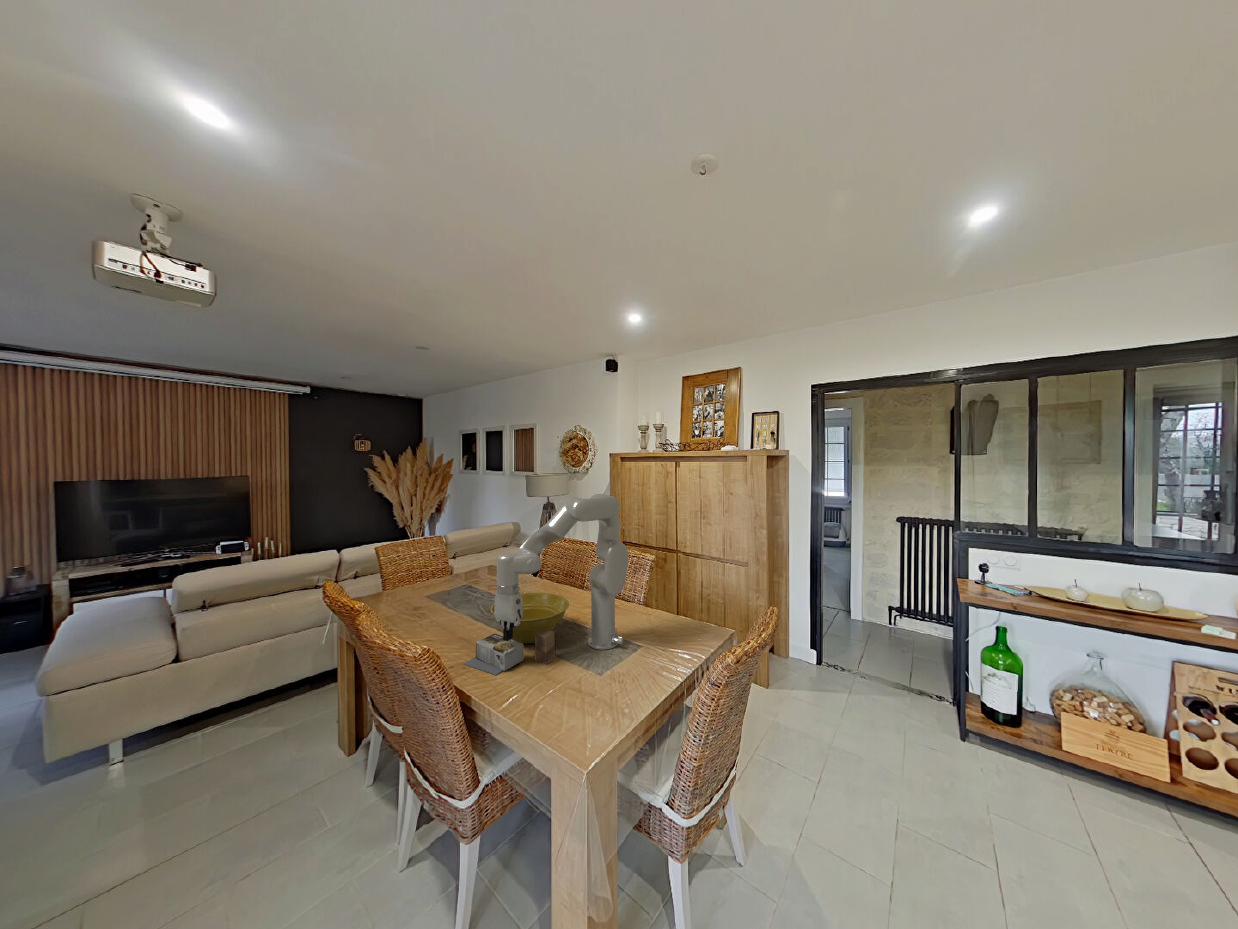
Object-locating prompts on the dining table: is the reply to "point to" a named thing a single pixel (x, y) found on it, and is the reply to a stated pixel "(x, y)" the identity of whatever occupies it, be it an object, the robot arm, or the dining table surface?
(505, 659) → the coffee box
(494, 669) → the mat
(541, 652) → the walnut block
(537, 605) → the planter bowl
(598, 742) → the dining table surface
